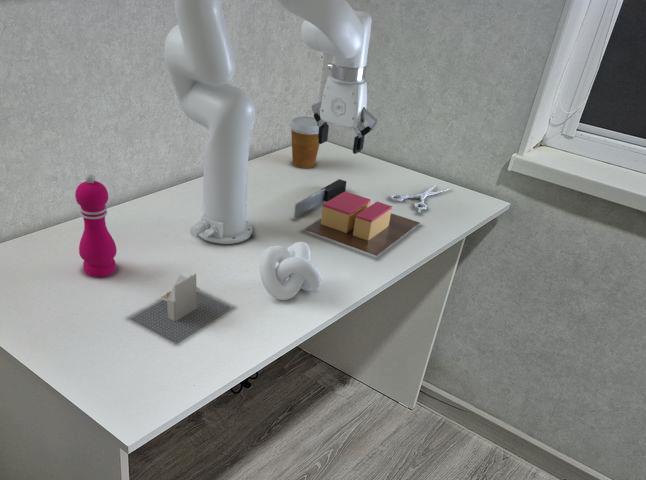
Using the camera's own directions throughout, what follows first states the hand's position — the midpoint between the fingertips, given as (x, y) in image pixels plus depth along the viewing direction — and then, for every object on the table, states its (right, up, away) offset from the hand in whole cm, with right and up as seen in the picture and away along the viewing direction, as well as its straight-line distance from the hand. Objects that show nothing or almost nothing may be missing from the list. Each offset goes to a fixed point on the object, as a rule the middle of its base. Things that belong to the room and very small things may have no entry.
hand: (339, 147), depth 156 cm
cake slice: (+6, -22, -8) cm, 24 cm away
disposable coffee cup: (-7, +3, +26) cm, 27 cm away
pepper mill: (-52, -33, -26) cm, 67 cm away
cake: (+1, -19, -4) cm, 19 cm away
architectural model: (-34, -42, -37) cm, 66 cm away
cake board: (+5, -21, -5) cm, 22 cm away
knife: (-5, -13, +4) cm, 15 cm away
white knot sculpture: (-14, -38, -29) cm, 50 cm away
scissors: (+23, -10, +11) cm, 28 cm away
